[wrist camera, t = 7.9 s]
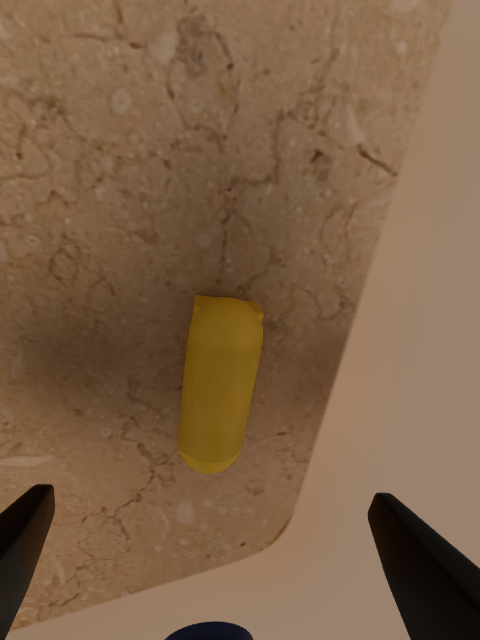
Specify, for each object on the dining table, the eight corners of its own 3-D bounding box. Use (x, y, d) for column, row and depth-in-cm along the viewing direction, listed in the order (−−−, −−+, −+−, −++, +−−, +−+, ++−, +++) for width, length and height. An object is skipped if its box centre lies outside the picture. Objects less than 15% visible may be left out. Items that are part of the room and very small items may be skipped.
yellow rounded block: (234, 439, 17) (241, 490, 14) (177, 436, 17) (171, 489, 14) (261, 291, 14) (277, 317, 11) (193, 282, 14) (190, 307, 11)
